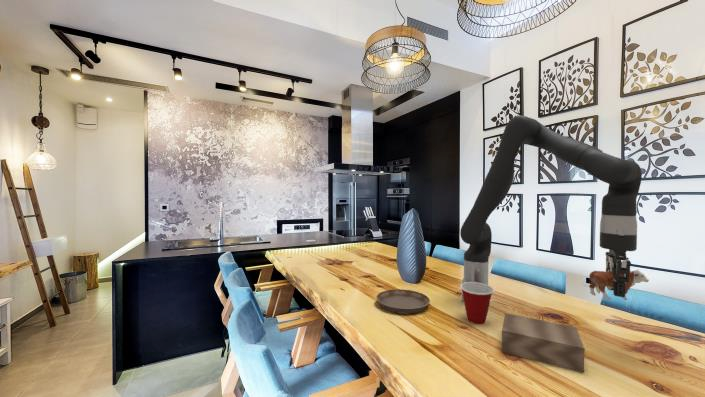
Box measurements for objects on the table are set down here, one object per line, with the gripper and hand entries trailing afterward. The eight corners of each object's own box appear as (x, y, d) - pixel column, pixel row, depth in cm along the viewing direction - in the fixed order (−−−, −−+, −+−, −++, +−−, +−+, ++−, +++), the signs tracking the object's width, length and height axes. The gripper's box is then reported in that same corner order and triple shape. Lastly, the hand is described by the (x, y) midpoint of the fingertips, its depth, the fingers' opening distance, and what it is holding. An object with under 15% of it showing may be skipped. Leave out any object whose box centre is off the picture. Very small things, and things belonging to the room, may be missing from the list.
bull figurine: (651, 302, 76) (652, 272, 76) (592, 298, 79) (593, 268, 79) (638, 297, 80) (639, 268, 80) (583, 293, 83) (584, 264, 83)
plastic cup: (459, 324, 97) (460, 289, 97) (459, 312, 107) (459, 280, 107) (495, 330, 93) (496, 293, 93) (491, 317, 103) (492, 283, 103)
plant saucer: (407, 321, 99) (407, 312, 99) (365, 304, 115) (365, 296, 115) (440, 307, 113) (440, 298, 113) (399, 293, 128) (399, 286, 128)
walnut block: (501, 351, 80) (501, 330, 80) (504, 332, 92) (505, 313, 92) (584, 372, 70) (584, 348, 70) (576, 347, 82) (576, 326, 82)
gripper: (595, 228, 87) (593, 284, 88) (606, 233, 75) (604, 298, 75) (628, 230, 83) (626, 288, 84) (645, 235, 71) (643, 304, 71)
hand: (616, 292), depth 79 cm, fingers closed on bull figurine, 5 cm apart
